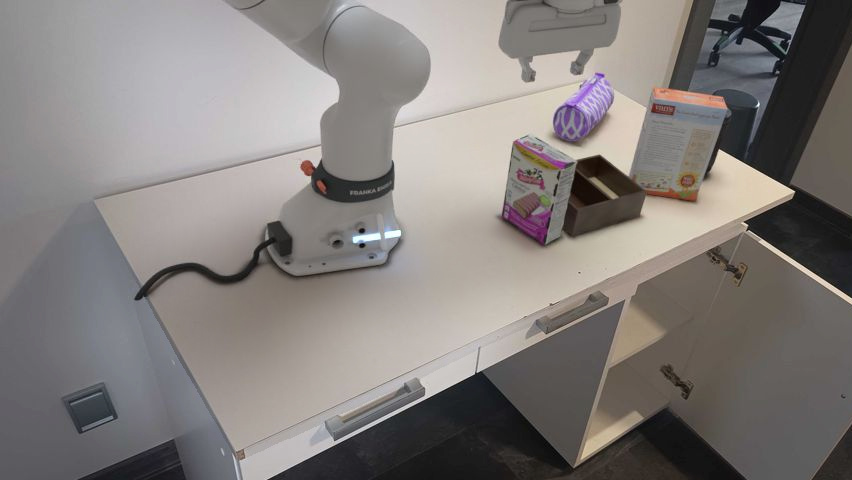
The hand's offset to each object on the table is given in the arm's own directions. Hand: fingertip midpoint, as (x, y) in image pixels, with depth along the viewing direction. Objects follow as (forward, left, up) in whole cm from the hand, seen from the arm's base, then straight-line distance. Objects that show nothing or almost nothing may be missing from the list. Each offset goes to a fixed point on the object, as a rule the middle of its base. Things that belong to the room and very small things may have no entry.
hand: (552, 77), depth 110 cm
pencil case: (+34, +28, -29) cm, 53 cm away
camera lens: (+45, +2, -29) cm, 54 cm away
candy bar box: (0, -2, -29) cm, 29 cm away
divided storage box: (+14, 0, -29) cm, 32 cm away
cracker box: (+33, -1, -29) cm, 44 cm away
